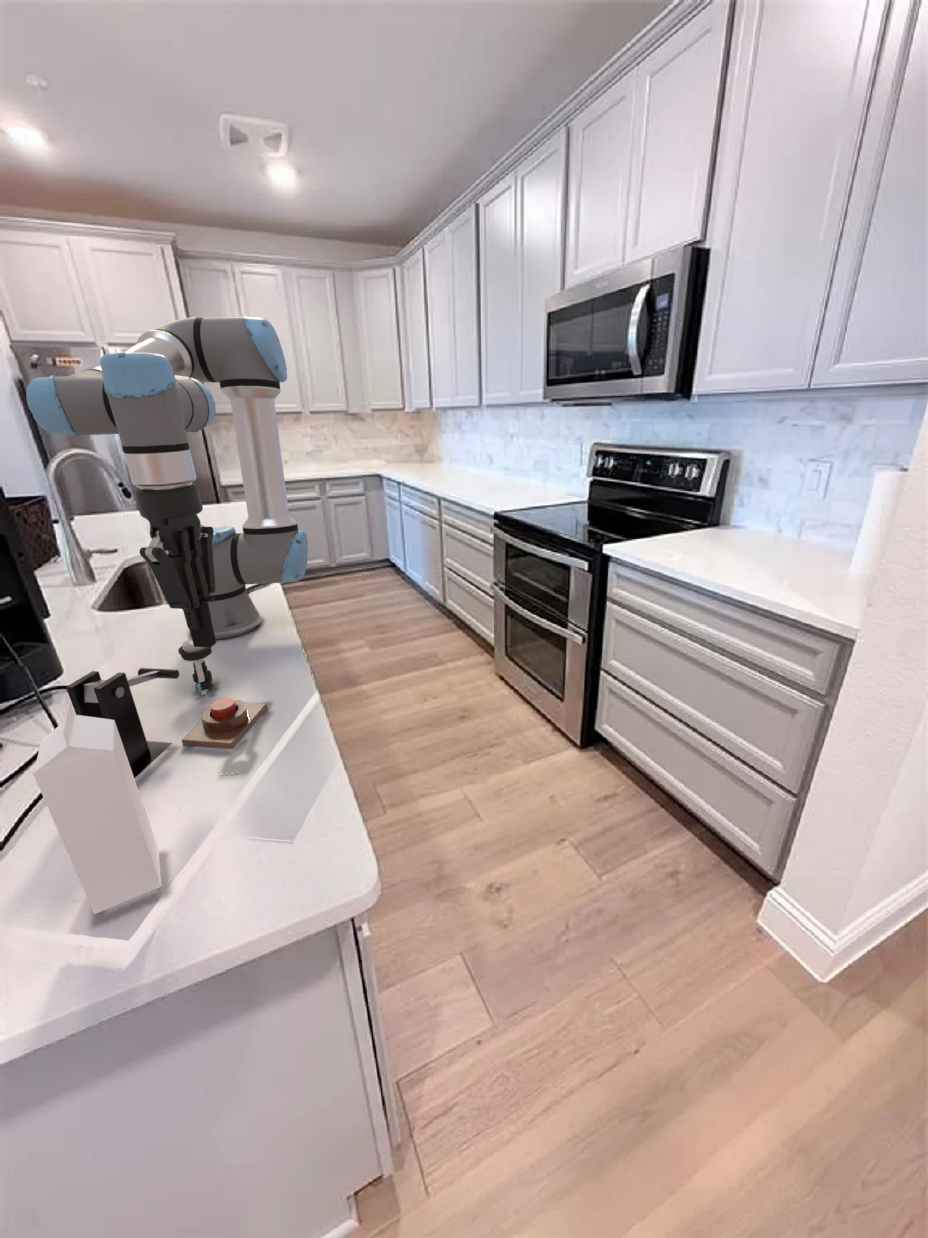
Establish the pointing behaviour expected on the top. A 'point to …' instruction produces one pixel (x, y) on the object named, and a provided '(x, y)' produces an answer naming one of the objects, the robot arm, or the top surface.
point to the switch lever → (131, 680)
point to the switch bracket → (118, 716)
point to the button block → (225, 726)
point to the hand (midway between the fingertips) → (205, 644)
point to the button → (223, 708)
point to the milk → (98, 810)
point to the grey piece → (198, 664)
